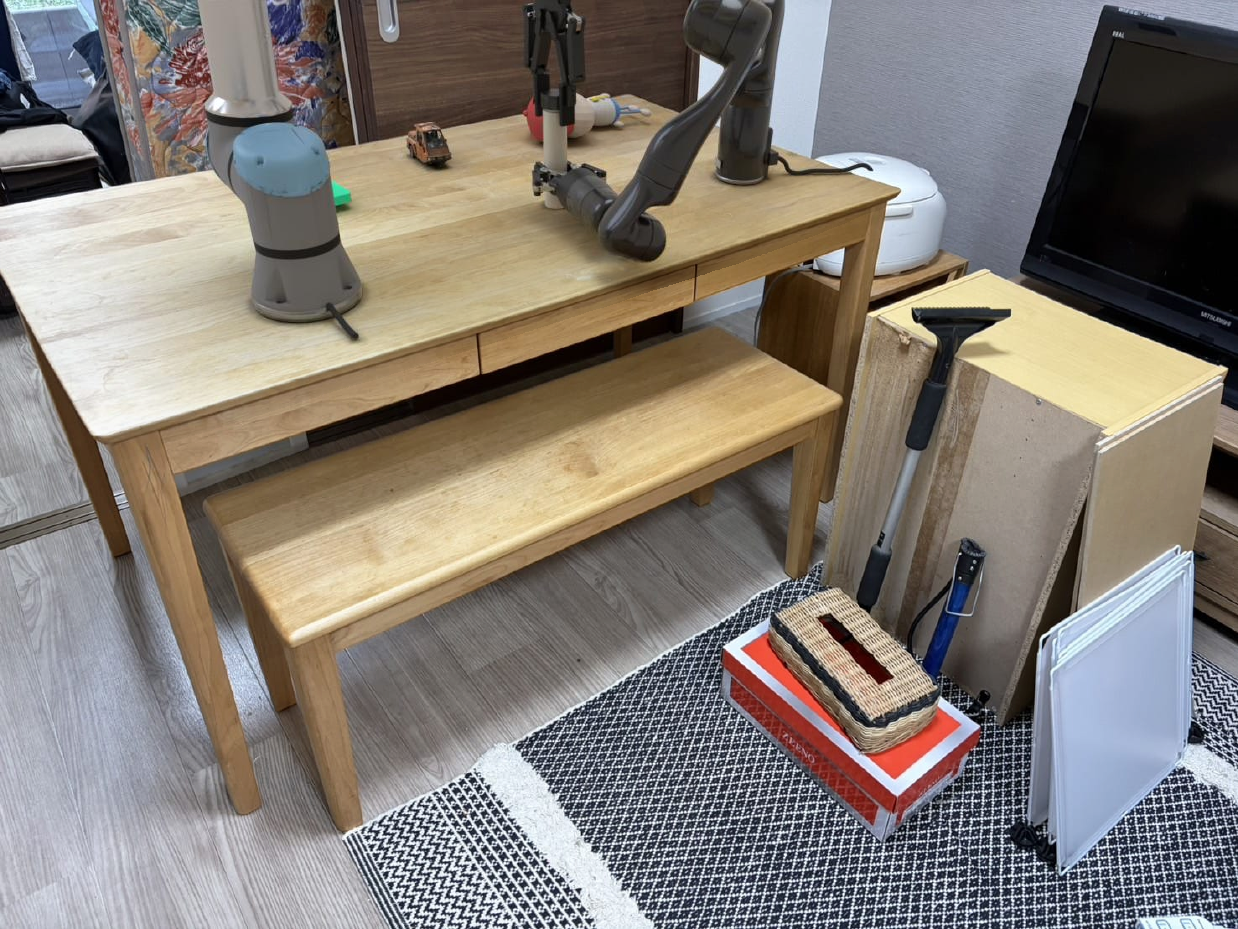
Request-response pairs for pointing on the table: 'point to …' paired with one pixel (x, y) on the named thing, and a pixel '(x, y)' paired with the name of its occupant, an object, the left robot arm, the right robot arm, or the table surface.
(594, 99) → the toy
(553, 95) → the lid
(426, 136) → the toy car
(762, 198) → the table surface
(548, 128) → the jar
